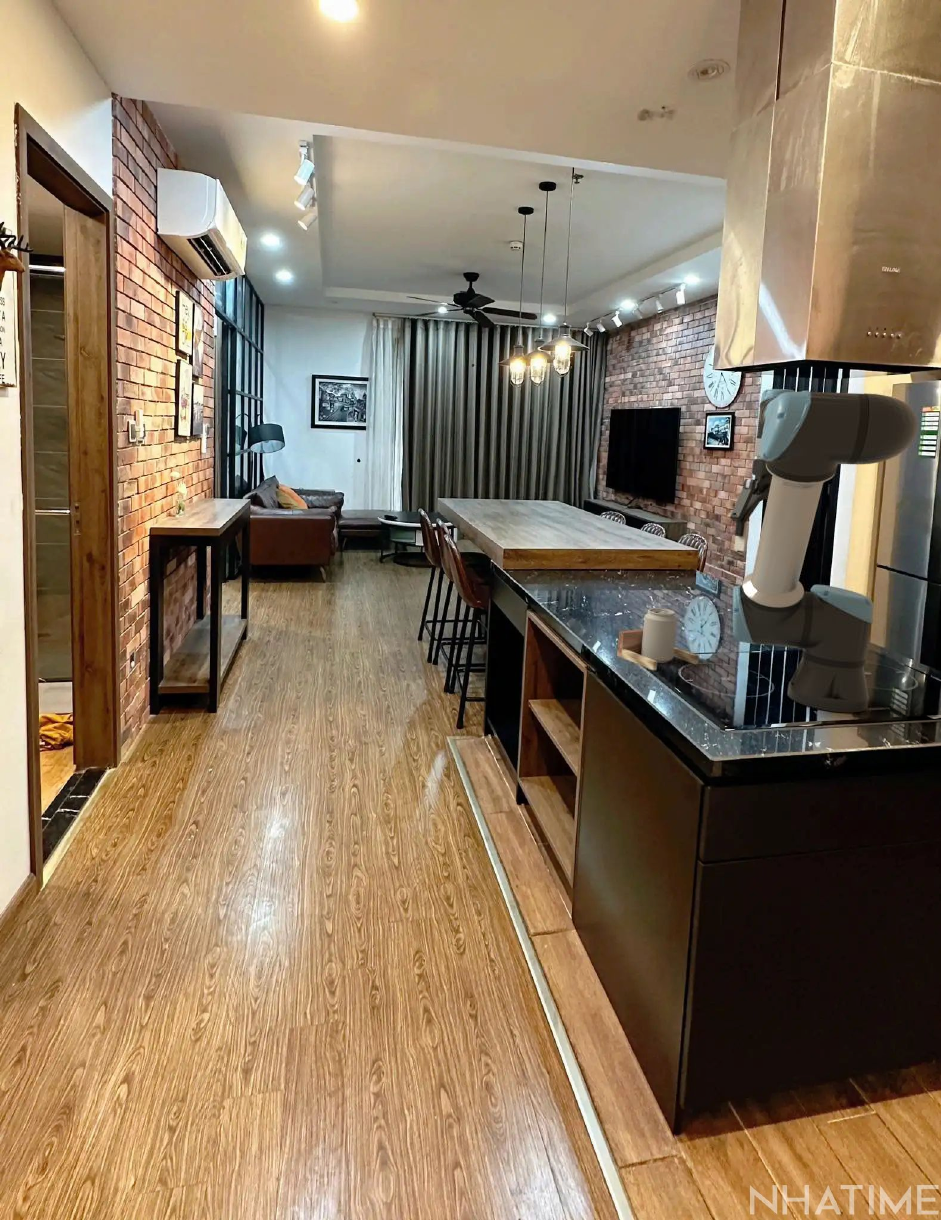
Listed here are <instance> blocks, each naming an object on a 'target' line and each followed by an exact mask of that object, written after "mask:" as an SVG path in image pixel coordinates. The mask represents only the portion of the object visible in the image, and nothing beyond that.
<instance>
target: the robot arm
mask: <svg viewBox="0 0 941 1220" xmlns="http://www.w3.org/2000/svg"><path fill="white" fill-rule="evenodd" d="M758 407H759V414H758V420H757V421H758V423H757V431H756V438H755V439H756V440H755V447H754V457H756V458H754V460H753V461H752V469H751V474H752V475H753V476H754V478H753V479H752V478H751V479H750V478H745V479H744V480H743V485H742V489H741V491H740V493H739V495H738V498H737V500H736V503H735V505H734V506H733V508H732V511H731V512H730V515H729V518H730V519H731V520H732V521H733V522H736V524H735V531H734V536H735V539H734V540H735V541H734V547H733V550H735V551H739V552H740V551H741V552H746V551H747V542H748V536H749V535H748V534H749V528H750V527H749V526H750V523H749V522H748V520H749V519H750V517H751V516H752V514H753V513H754V511H756V508H757V507H758V505H760V503H761V502H762V501H764V500H766V501H767V502H766V507H765V510H764V515H763V516H764V517H763V522H762V526H761V530H760V531H761V532H760V536H759V541H758V545H757V550H756V557H755V561H754V565H753V570H752V572H751V573H749V574H748V575H746V576H745V577H744V579H743V581H742V585H741V584H739V585H734V586H733V590H732V626H733V627H732V629H733V630H732V633H733V637H734V638H735V640H736V641H738V642H741V643H746V644H752V645H754V646H755V645H764V646H774V647H783V648H784V647H785V648H794V649H802V654H801V656H802V657H801V660H800V662H799V664H798V666H797V668H796V670H795V672H794V674H793V675H792V678H791V680H790V681H789V682H788V687H787V696H788V698H790V700H793V701H794V702H796V703H798V704H801V705H804V706H806V707H809V708H813V709H816V710H817V709H818V710H821V711H822V710H823V711H828V712H834V713H860V712H863V711H865V710H867V709H868V705H869V701H870V700H869V699H870V695H869V692H868V691H869V690H868V685H867V680H866V679H867V678H866V674H865V663H866V659H867V652H868V646H869V640H870V634H871V628H872V624H873V622H874V620H873V617H874V603H873V601H872V599H871V598H869V597H868V596H866V595H864V594H862V593H859V592H857V591H853V590H849V589H846V588H841V587H837V586H832V585H825V584H814V585H813V586H812V587H811V588H810V591H805V589H804V586H803V584H802V583H801V582H800V581H799V580H800V577H801V576H800V575H801V572H802V568H803V566H804V560H805V558H806V557H805V556H806V552H807V548H808V545H809V541H810V537H811V533H812V529H813V525H814V520H815V518H816V512H817V509H818V505H819V501H820V497H821V494H822V489H823V485H824V483H825V482H827V481H830V480H831V479H832V478H833V477H834V476H835V475H836V473H837V468H838V465H871V464H877V463H881V462H885V461H888V460H891V459H893V458H894V457H897V456H899V455H900V454H901V453H903V452H905V451H907V449H908V448H909V447H910V445H912V443H913V442H914V440H915V438H916V435H917V432H918V427H919V426H918V424H919V423H918V422H919V421H918V418H917V415H916V413H915V411H914V410H913V408H912V407H911V406H910V405H908V404H907V403H905V402H904V401H902V400H901V399H897V398H895V397H892V396H889V395H885V394H878V393H867V392H866V393H858V392H857V393H854V392H853V393H852V392H850V393H849V392H820V391H810V390H802V391H795V390H793V389H782V388H771V389H766V390H763V391H762V393H761V399H760V402H759V406H758Z"/></svg>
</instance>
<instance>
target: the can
mask: <svg viewBox="0 0 941 1220" xmlns="http://www.w3.org/2000/svg"><path fill="white" fill-rule="evenodd" d="M647 611H648V612H647V613H646V614H645V615H644V621H643V628H642V629H643V639H642V650H641V655H642V656H645V657H647V658H650V659H652V660H655V661H657V664H663V663H669V662H670V661H672V660H673V658H674V656H673V655H674V647H675V643H676V636H677V625H678V618H677V616H676V615H675V614H676V612H675V611H673V610H672V609H668V608H658V607H657V608H655V607H654V608H649V609H648V610H647Z"/></svg>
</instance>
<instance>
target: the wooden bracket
mask: <svg viewBox="0 0 941 1220" xmlns="http://www.w3.org/2000/svg"><path fill="white" fill-rule="evenodd" d="M643 629H644V628H642V629H641V628H640V629H632V630H622V631H619V632H618V643H617V651H616V652H617V653H616V657H619V658H621V659H624V660H627V661H629V662H632V663H635V665H639V666H642V667H644V668H646V669H649V670H651V671H657V669H658V668H657V667H658V663H657V661H655V660H652V659H650V658H647V657H645V656H642V655H641V650H642V639H643ZM673 658H676V659H680V660H682V661H684V662H687V663H690V664H693V665H699V658H700V655H699V654H695V653H692V652H690V651H686V650H684V649H681V648H678V647H675V646H674V655H673Z"/></svg>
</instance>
